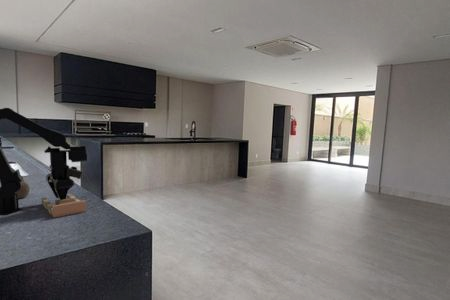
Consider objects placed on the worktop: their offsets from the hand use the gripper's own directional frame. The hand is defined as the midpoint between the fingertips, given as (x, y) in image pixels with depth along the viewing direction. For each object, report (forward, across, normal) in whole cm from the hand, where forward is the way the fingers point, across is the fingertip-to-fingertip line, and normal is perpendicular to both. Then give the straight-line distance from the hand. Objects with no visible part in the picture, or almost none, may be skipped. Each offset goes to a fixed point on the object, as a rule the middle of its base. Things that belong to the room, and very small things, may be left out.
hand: (60, 200), depth 113 cm
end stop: (+2, -14, 0) cm, 14 cm away
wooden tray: (+2, -4, 0) cm, 4 cm away
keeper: (+2, -10, 0) cm, 10 cm away
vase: (+2, +24, +11) cm, 26 cm away
